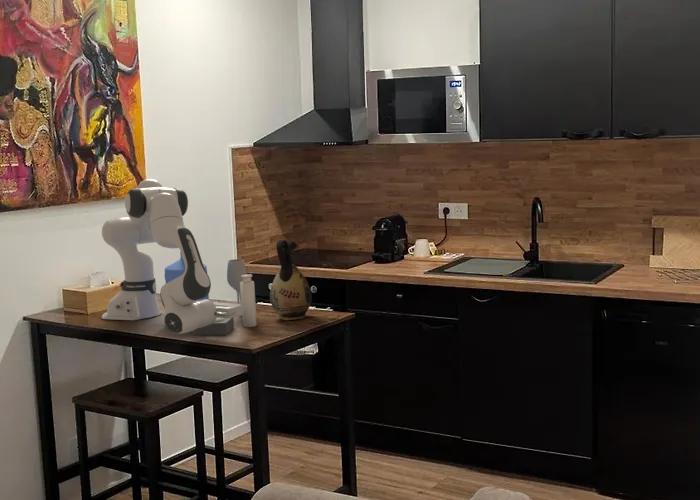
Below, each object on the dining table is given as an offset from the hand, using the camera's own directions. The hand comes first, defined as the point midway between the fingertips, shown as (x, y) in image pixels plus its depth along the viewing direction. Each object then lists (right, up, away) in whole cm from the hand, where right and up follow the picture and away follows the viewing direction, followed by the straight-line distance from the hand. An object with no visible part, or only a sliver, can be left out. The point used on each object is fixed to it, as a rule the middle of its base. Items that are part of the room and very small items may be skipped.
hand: (229, 304), depth 312 cm
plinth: (-6, -10, +4) cm, 12 cm away
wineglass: (0, -6, +30) cm, 31 cm away
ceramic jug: (+20, -7, +19) cm, 29 cm away
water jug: (-18, -8, +21) cm, 29 cm away
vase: (+6, -8, +11) cm, 15 cm away
